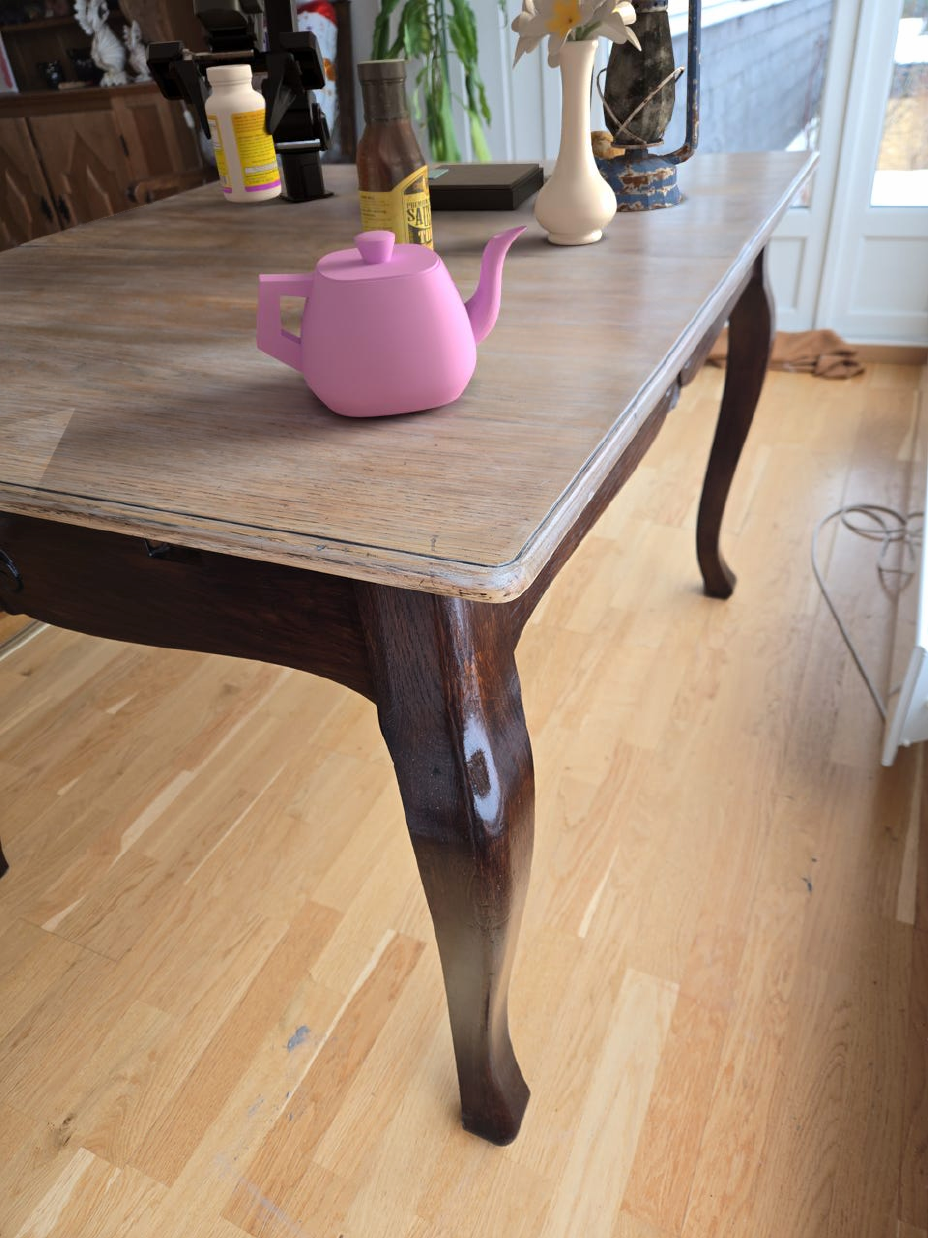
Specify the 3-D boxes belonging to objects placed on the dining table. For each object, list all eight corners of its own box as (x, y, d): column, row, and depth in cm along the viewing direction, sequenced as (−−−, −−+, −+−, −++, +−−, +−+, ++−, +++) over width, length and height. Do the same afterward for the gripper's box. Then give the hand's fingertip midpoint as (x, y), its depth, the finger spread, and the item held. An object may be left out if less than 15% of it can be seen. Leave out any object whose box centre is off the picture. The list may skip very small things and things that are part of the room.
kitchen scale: (401, 209, 118) (399, 184, 116) (441, 186, 130) (439, 163, 128) (513, 209, 114) (512, 183, 112) (543, 185, 126) (543, 161, 124)
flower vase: (605, 216, 107) (613, -36, 92) (647, 251, 92) (664, -41, 78) (502, 225, 107) (493, -26, 92) (528, 263, 92) (522, -30, 77)
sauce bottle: (429, 318, 79) (406, 61, 67) (364, 318, 80) (330, 65, 68) (444, 296, 84) (426, 54, 72) (383, 297, 85) (355, 59, 74)
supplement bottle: (292, 191, 101) (271, 61, 93) (265, 204, 96) (239, 68, 88) (243, 191, 103) (217, 64, 95) (213, 203, 98) (184, 71, 90)
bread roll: (620, 210, 125) (647, 152, 121) (556, 181, 123) (581, 121, 118) (611, 196, 133) (636, 142, 129) (551, 169, 131) (574, 112, 126)
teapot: (551, 404, 61) (550, 238, 55) (268, 442, 59) (232, 273, 53) (510, 344, 72) (505, 198, 65) (269, 374, 70) (239, 227, 63)
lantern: (685, 187, 118) (708, -97, 100) (701, 206, 108) (729, -105, 90) (572, 194, 119) (574, -85, 101) (578, 214, 109) (581, -92, 91)
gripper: (124, -51, 89) (122, 86, 87) (302, -66, 88) (305, 72, 86) (166, 36, 100) (165, 159, 98) (325, 23, 99) (328, 147, 97)
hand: (238, 134), depth 94 cm, fingers closed on supplement bottle, 6 cm apart
